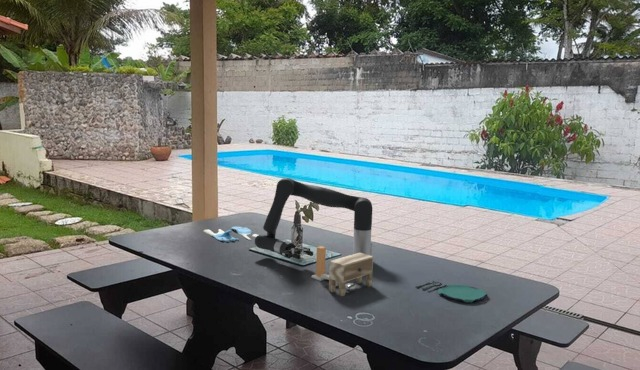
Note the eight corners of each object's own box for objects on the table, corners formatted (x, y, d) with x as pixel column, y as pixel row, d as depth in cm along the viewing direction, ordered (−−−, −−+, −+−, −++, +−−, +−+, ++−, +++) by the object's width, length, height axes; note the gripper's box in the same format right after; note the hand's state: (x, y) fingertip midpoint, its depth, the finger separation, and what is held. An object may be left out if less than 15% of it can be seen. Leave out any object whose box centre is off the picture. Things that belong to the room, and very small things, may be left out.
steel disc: (353, 286, 246) (353, 282, 246) (358, 290, 242) (358, 286, 242) (343, 287, 245) (343, 283, 244) (348, 291, 240) (348, 287, 240)
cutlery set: (470, 308, 224) (471, 302, 224) (411, 289, 245) (412, 285, 245) (494, 297, 238) (494, 292, 237) (436, 280, 259) (436, 276, 259)
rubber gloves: (243, 227, 354) (243, 218, 353) (266, 239, 327) (266, 228, 326) (203, 232, 339) (203, 222, 338) (224, 244, 312) (223, 234, 311)
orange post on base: (310, 277, 256) (310, 247, 254) (322, 274, 262) (322, 244, 259) (334, 286, 245) (335, 254, 243) (346, 282, 250) (347, 251, 248)
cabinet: (328, 291, 239) (329, 260, 237) (358, 281, 253) (359, 252, 251) (344, 297, 232) (345, 265, 230) (374, 286, 246) (375, 257, 244)
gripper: (273, 243, 268) (295, 250, 257) (295, 239, 278) (317, 245, 267) (273, 258, 270) (295, 265, 258) (295, 253, 279) (316, 260, 268)
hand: (306, 255), depth 263 cm, fingers open, 8 cm apart
